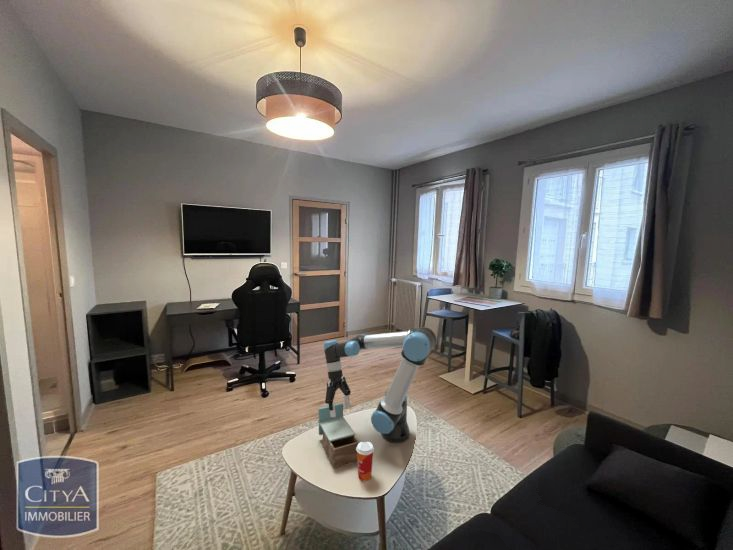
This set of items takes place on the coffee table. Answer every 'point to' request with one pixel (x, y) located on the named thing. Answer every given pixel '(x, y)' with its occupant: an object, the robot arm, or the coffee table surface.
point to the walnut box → (341, 450)
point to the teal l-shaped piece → (334, 423)
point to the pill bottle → (364, 460)
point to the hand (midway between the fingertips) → (341, 412)
